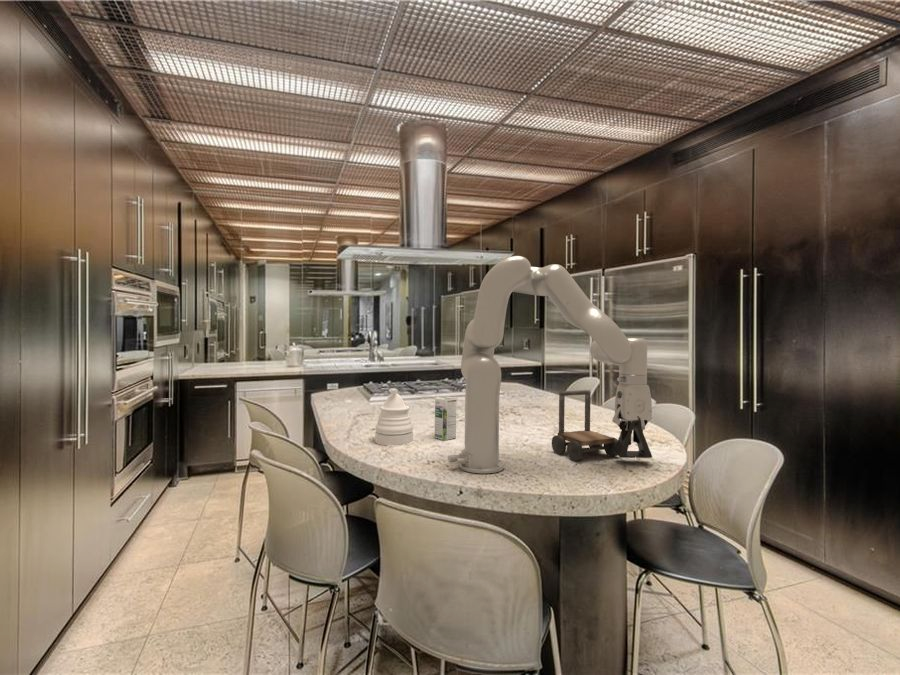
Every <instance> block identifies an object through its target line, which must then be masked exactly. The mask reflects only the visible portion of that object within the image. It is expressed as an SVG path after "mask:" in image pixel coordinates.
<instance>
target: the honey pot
mask: <svg viewBox="0 0 900 675" xmlns="http://www.w3.org/2000/svg"><path fill="white" fill-rule="evenodd" d="M389 392H390V394H389V396H388V397H386V399H385V401H384V403H383V405H381V406H380V407H379V408H380V414H379V415H378V419H377V423H376V425H375V432H374V433H375V440H374V441H375V444H377V443H378V445H380V444H382V445H381V446H386V445H399V446H404V445H403V444H406V445H408V444H407V443H410V442H412V441H413V442H414V426H413V425H414V424H413V423H412V420H411V419H412V418H411V416H410V414H409V412H408V411H409V410H410V406H409V405H406V403H405V401H404V400H403V398H402V396H401V395H400V394H399V393H398V389H397V388H395V389H394V388H392V389H391V388H390V389H389ZM413 442H412V443H413ZM410 444H411V443H410Z"/></svg>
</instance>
